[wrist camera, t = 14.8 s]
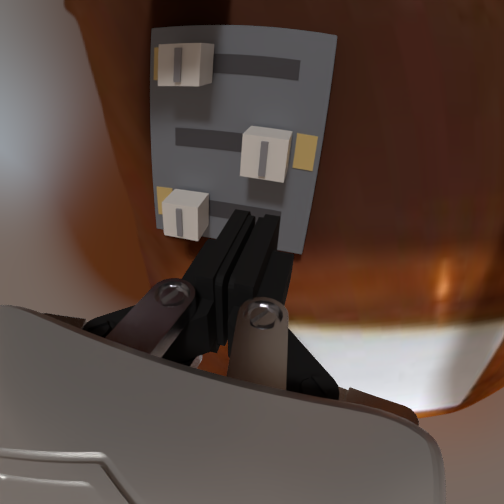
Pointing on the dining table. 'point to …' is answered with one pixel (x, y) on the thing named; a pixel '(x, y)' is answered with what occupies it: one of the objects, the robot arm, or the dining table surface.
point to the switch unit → (243, 122)
